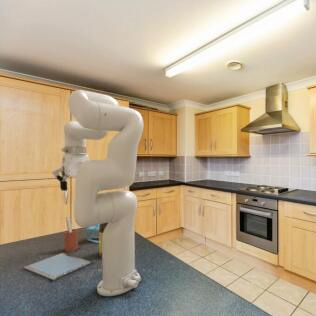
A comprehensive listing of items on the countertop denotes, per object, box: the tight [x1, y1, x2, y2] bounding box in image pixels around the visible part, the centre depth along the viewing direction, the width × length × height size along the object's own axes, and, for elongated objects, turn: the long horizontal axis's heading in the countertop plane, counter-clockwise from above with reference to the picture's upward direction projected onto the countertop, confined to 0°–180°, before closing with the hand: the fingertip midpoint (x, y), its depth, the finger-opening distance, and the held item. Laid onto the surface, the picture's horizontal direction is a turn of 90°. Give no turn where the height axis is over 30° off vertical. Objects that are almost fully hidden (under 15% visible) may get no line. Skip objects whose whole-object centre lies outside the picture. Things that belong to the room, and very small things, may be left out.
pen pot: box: [64, 228, 79, 253], centre depth 97 cm, size 5×5×9 cm
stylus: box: [65, 216, 72, 233], centre depth 97 cm, size 1×1×15 cm
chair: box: [85, 224, 100, 244], centre depth 108 cm, size 8×8×12 cm
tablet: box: [22, 252, 92, 282], centre depth 83 cm, size 20×13×1 cm, turn 66°
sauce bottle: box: [98, 222, 109, 258], centre depth 93 cm, size 7×6×20 cm
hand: (76, 188), depth 96 cm, fingers open, 9 cm apart
